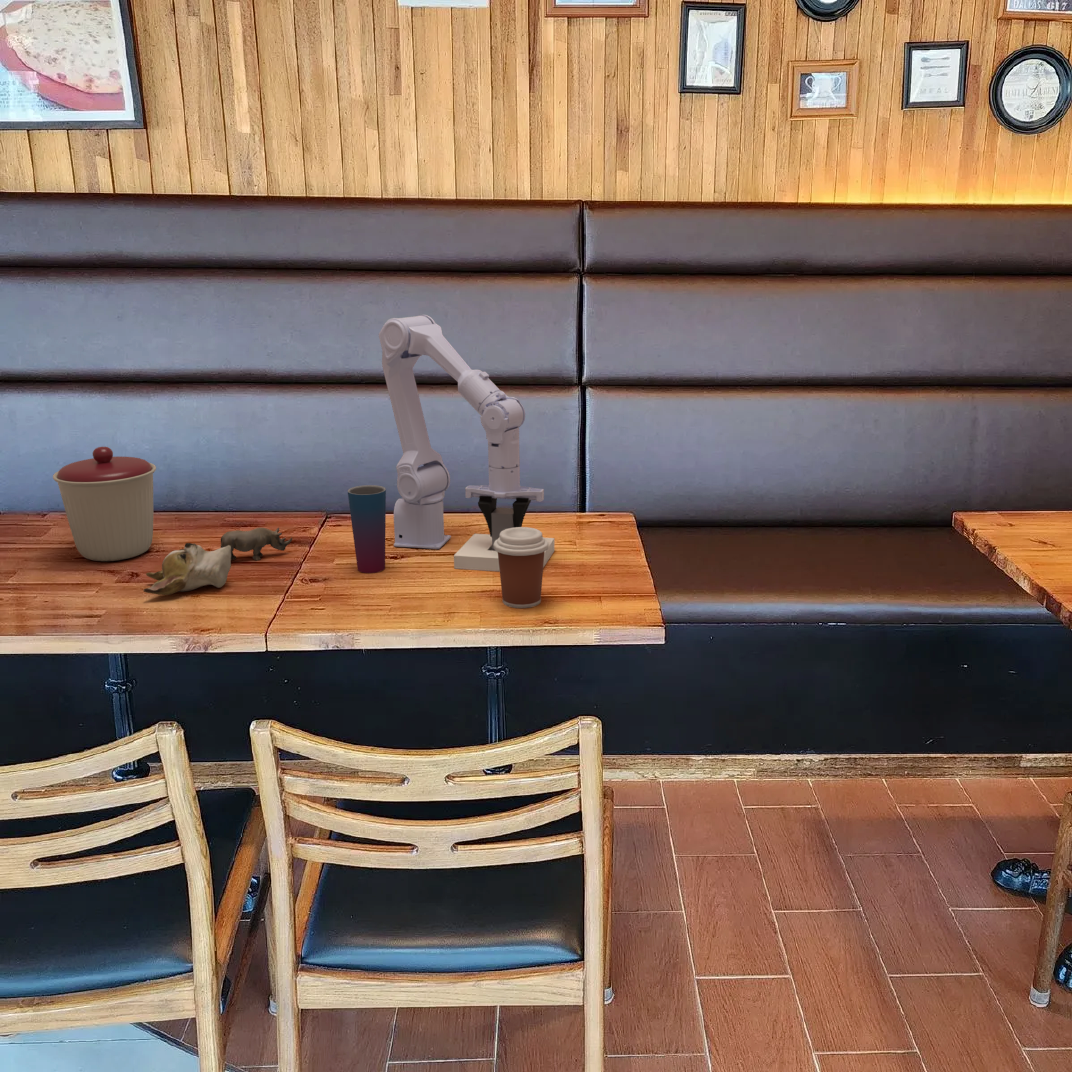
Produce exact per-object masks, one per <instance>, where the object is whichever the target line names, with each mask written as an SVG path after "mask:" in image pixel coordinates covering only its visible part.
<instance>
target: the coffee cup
mask: <svg viewBox="0 0 1072 1072" xmlns="http://www.w3.org/2000/svg"><path fill="white" fill-rule="evenodd" d="M544 538H545V537H544V536H543V532H542V531H541V530H540V529H537V528H534V527H527V526H522V527H515V528H509V529H505V530H503V531H501V533H500V537H499V538H498V539H497V540H495V542H494V544H493V548H494V549H495V551H497V552H498V560H499V570H500V571H499V578H500V585H501V586H500V588H501V597H502V603H503V604H504V605H505V607H508V608H513V609H529V608H534V607H537V606H539V604H540V605H541V602H542V587H543V576H544V575H543V573H544V568H543V564H544V551H546V550H548V547H549V542H548V541H547V540H546V539H544Z"/></svg>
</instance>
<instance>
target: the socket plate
mask: <svg viewBox="0 0 1072 1072" xmlns="http://www.w3.org/2000/svg"><path fill="white" fill-rule="evenodd" d="M543 538H544V539H546V540H547V541H548V542H549V547H548V550H546V551H544V564H543V569H544V567H545V566H546V565H547V563H548V561H549V560H550V558H551V557H552V555H553V553H554V552H555V537H543ZM453 568H454V569H456V570H457V569H459V570H471V571H473V570H474V571H484V572H485V571H487V572H500V570H499V560H498V552H497V551H492V537H490V533H489V534H487V533H474V534H472V536H471V537H470V538H469V539H468V540H467V541H466V542H465V543H464V544H463V545H462V546H461V547H460V548H459V549H458V550H457V552H455V553H454V555H453Z"/></svg>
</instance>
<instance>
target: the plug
mask: <svg viewBox="0 0 1072 1072" xmlns="http://www.w3.org/2000/svg"><path fill="white" fill-rule="evenodd" d="M491 517H492V551H495V549H494V548H493V544H494V542H495V540H497V539H498V538H499V537H500V533H501V531H503V530H505V529H509V528H514V512H513V507H511V508H510V507H496V509H495V510H494V511H493V512H492V513H491Z"/></svg>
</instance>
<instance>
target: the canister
mask: <svg viewBox="0 0 1072 1072" xmlns="http://www.w3.org/2000/svg"><path fill="white" fill-rule="evenodd" d="M92 457H93V458H87V459H83V460H78V461H74V462H71V463H69V464H66V465H65V466H64V465H63V466H62V467H61V468H60V469H59V470H58V471H56V472H54V474H53V475H52V479H53V480H54V481H55V482H56V483H57V485H58V489H59V492H60V497H61V501H62V503H63V507H64V511H65V514H66V518H67V522H68V524H69V525H68V526H69V528H70V531H71V535H72V538H73V542H74V544H75V548H76V550H77V552H78V553H79V554H80V555H81V556H82V557H83V558H85V559H87V560H90V561H95V562H96V561H97V562H114V561H115V562H116V561H122V560H126V559H131V558H135V557H139V556H141V555H142V554H143V553H145V552H147V551H148V550H149V549H150V547H151V546H152V543H153V536H154V473H155V472H156V471H157V466H156V465H155V464H154V463H151V462H148V460H145V459H142V458H140V457H133V456H114V452H113V450H112V449H111V448H110V447H108V446H98V447H96V448H94V450H93V451H92Z"/></svg>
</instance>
